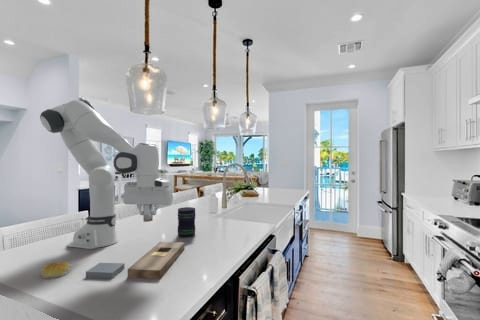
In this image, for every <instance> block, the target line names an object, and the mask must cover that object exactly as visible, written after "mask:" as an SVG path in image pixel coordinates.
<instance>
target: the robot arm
mask: <svg viewBox="0 0 480 320" xmlns="http://www.w3.org/2000/svg"><path fill="white" fill-rule="evenodd" d="M39 119H40V123H41V124H42V126H43V127H44V128H45V130H47V131H48V132H50V133H52V134H57V133H59V134H60V136H61V138H62V139H61V140H63V143H64V144H65V146H66V148H67V149H68V150H69V152H70V154H72V156H73V157H74V159H75V161H76V162H77V163H78V165H80V167H82V169H83V170H84V171H85V173H86V175H88V190H89V193H88V194H89V202H90V203H89V209H90V210H89V215H88V216H87V217H84V221H86V223H84V225H82V226H81V227H79V229H77V230H76V231H75V232H74V234H73V237H72V240H71V241H69V242H68V243H67V245H66V246H67V247H70V248H71V247H72V248H78V249H86V250H93V249H98V248H101V247H102V248H103V247H108V246H111V245H113V244H116V243H117V242H118V241H119V239H118V236H117V230H116V222H117V218H116V217H117V216H116V215H117V214H116V195H115V192H116V191H115V189H116V187H115V180H116V176H117V175H116V172H117V173H119V174H122V175H135V174H136V181H128V182H125V184H124V186H123V191H124V192H123V198H122V199H123V200H122V201H123V203H124V205H136V208H137V210H138V211H139V215H140V216H143V205H144V204H145V205H153V208H154V209H153V211H151V213H152V214H151V215H153V216H157V211H158V209H159V207H160V206H163V205H164V206H165V205H166V206H168V205H171V204H172V203H173V201H174V198H173V197H174V196H173V189H172V187H171V180H169V179H165V178H164V177H163V178H162V177H160V172H159V166H160V156H159V149H158V147H157V146H156V145H155V144H150V143H143V142H141V143H140V142H139V143H137V145H136V146H134V145H133V143H131V142H130V141H129V140H127V139H126V138H125V137H124V136H123V135H122V134H121V133H119V132H118V131H117V130H116V129H115V128H113V126H111V124H109V123H108V122H107V121H106V119H104V118H103V117H102V116H101V115H100V114H99V112H97V111H96V109H95V107H94V106H93V105H92V103H91V102H90V101H88V100H86V99H74V100H70V101H68V102H66V103H65V102H64V103H62V104H60V105H57V106H55V107H52V108H48V109H46V110H44V111H42V112H41V113H40V115H39ZM95 142H97V143H100V144H104V145H108V146H110V147H112V148H113V149H115V150H116V151H118V153H116V154H115V157H114V158H113V167H114V169H115V170H114V169H113V167H112V166H111V164H110V163H109V162H108V160H107V159H106V158H105V156H104V155H103V153H102V152H101V151H100V149H99V147H98V146H97V145H96V143H95ZM115 171H116V172H115Z"/></svg>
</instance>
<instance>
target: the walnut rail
mask: <svg viewBox="0 0 480 320" xmlns="http://www.w3.org/2000/svg"><path fill="white" fill-rule="evenodd" d="M184 250H185V242H184V241H183V242H180V241H178V242H175V241H159V242H158V243H156V245H154V246H153V247H152V248H151V249H150V250H148V251H147V252H146V253H145V254H144V255H143V256H141V257H140V258H139V259H138V260H137V261H135V262H134V263H133V264H132V265H131V266H130V267H129V268H128V269H127V279H128V278H129V279H130V278H131V279H133V278H135V279H153V280H154V279H155V280H156V279H157V280H159V279H161V278H162V277H163V276H164V275H165V274H166V272H167V271H168V270H169V269H170V267H171V266H172V265H173V264H174V262H175V261H176V260H177V259H178V258H179V256H180V255H181V254H182V253H183V251H184Z"/></svg>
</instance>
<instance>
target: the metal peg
mask: <svg viewBox="0 0 480 320" xmlns="http://www.w3.org/2000/svg"><path fill="white" fill-rule="evenodd" d="M153 208H154V205H145V204H144V205H143V206H142V209H143V215H142V216H143V219H142V220H143V222H144V223H146V222H153V221H154V220H153V219H154V218H153V217H154V215H151V214H152V213H151V211H153V210H154V209H153Z"/></svg>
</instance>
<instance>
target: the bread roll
mask: <svg viewBox="0 0 480 320" xmlns="http://www.w3.org/2000/svg"><path fill="white" fill-rule="evenodd" d="M72 268H73V265H71V264H70V263H69V262H67V261H60V262H59V263H58V262H51V263H49V264H46V265H45V266H44V267H43V268H42V269H41V271H40V273H41V277H42V278H43V279H52V278H53V279H54V278H62V277H63V276H66V275H68V274H69V273H70V272H71V271H72Z"/></svg>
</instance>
